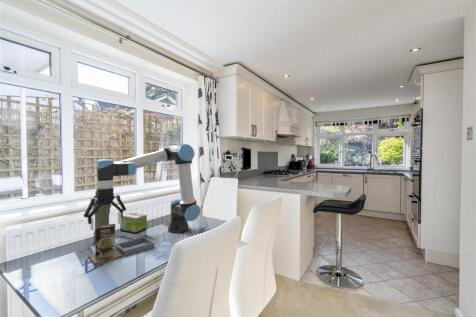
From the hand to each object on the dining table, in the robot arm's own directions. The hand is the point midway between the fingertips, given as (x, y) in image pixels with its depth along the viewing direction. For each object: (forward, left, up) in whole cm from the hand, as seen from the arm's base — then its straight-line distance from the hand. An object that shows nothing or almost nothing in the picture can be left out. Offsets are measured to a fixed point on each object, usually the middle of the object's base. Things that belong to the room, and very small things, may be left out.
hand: (106, 226), depth 122 cm
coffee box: (0, 0, -16) cm, 16 cm away
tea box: (-24, -23, -17) cm, 37 cm away
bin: (-16, -1, -17) cm, 23 cm away
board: (0, 0, -17) cm, 17 cm away
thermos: (-6, -28, -17) cm, 33 cm away
